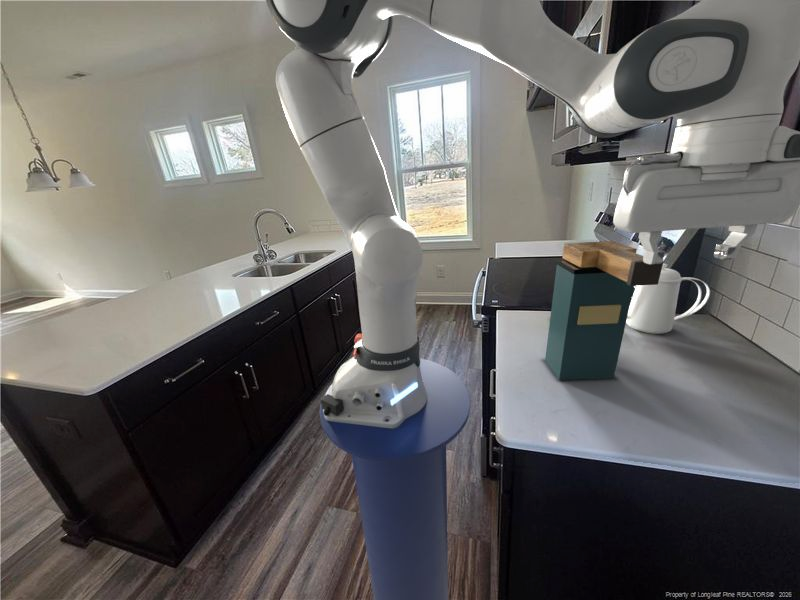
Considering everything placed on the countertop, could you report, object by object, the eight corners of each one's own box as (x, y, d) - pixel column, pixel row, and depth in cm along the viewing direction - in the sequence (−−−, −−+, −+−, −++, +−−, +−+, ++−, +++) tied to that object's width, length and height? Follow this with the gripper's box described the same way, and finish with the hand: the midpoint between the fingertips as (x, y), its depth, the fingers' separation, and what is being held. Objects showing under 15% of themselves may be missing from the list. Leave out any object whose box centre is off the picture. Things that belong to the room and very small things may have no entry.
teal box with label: (558, 381, 71) (574, 269, 61) (543, 360, 79) (555, 258, 69) (616, 379, 70) (642, 266, 61) (594, 358, 78) (614, 255, 69)
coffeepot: (591, 316, 100) (602, 258, 93) (687, 321, 93) (705, 258, 86) (602, 331, 90) (614, 268, 84) (709, 338, 84) (732, 270, 77)
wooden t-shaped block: (612, 286, 52) (617, 263, 50) (561, 259, 69) (564, 241, 68) (675, 283, 51) (682, 259, 50) (608, 256, 69) (612, 238, 67)
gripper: (646, 154, 36) (624, 272, 41) (839, 139, 35) (792, 261, 40) (612, 157, 41) (596, 260, 46) (777, 144, 40) (742, 250, 46)
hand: (687, 260), depth 43 cm, fingers open, 8 cm apart
